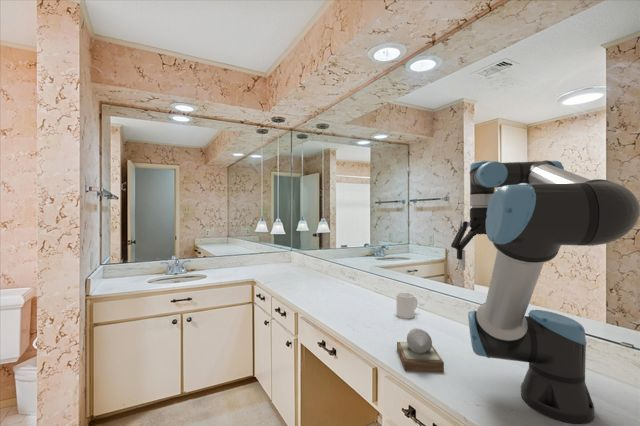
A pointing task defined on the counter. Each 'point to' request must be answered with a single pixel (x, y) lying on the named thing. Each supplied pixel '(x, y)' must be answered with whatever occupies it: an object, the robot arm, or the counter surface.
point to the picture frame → (419, 359)
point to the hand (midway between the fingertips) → (482, 269)
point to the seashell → (419, 341)
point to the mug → (406, 305)
